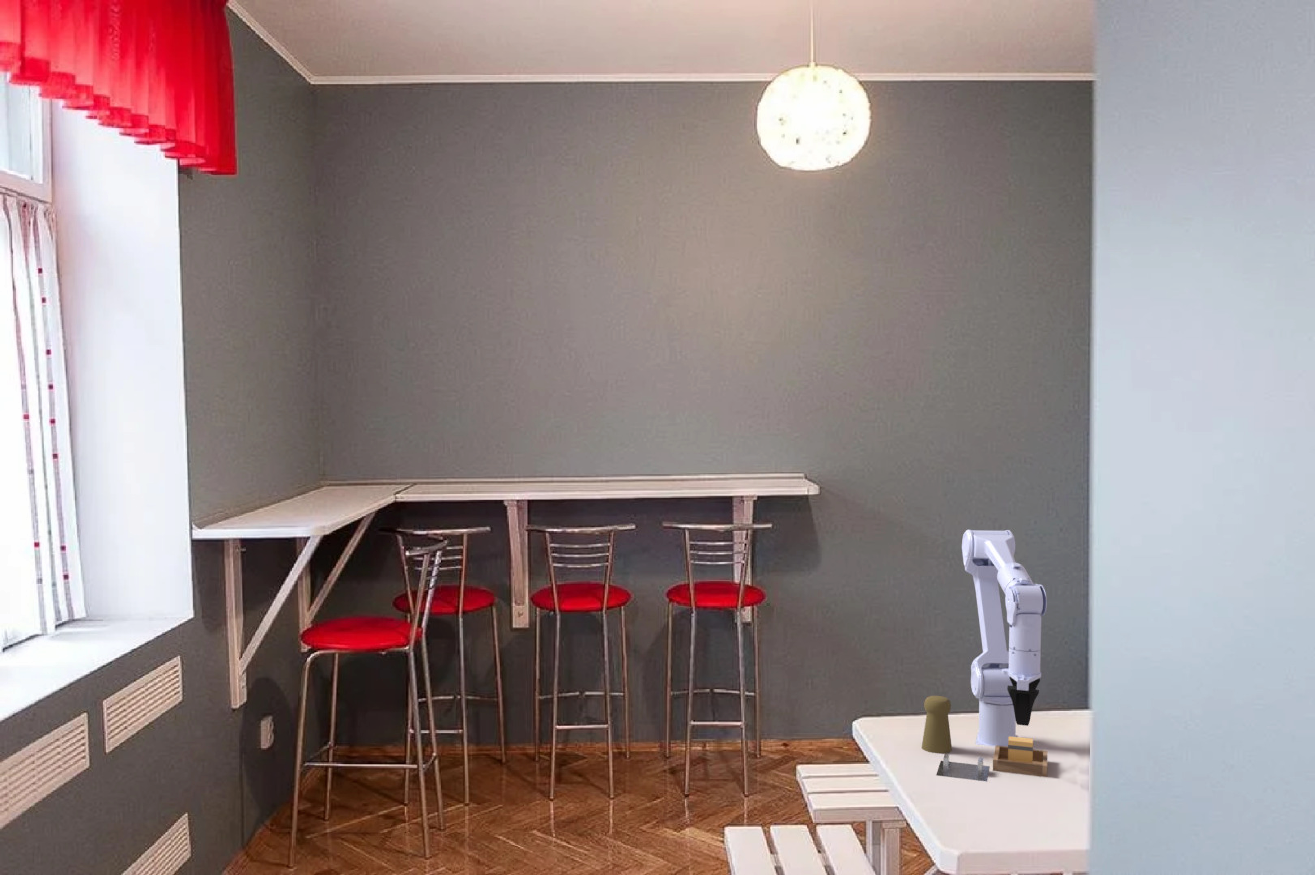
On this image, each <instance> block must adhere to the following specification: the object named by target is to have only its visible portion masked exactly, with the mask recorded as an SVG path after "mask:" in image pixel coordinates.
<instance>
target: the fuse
mask: <svg viewBox="0 0 1315 875" xmlns="http://www.w3.org/2000/svg"><path fill="white" fill-rule="evenodd" d="M1033 749H1034V739H1033V738H1028V737H1019V736H1018V737H1010V736H1009V739H1008V760H1010V761H1019V762H1028V763H1033Z"/></svg>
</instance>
